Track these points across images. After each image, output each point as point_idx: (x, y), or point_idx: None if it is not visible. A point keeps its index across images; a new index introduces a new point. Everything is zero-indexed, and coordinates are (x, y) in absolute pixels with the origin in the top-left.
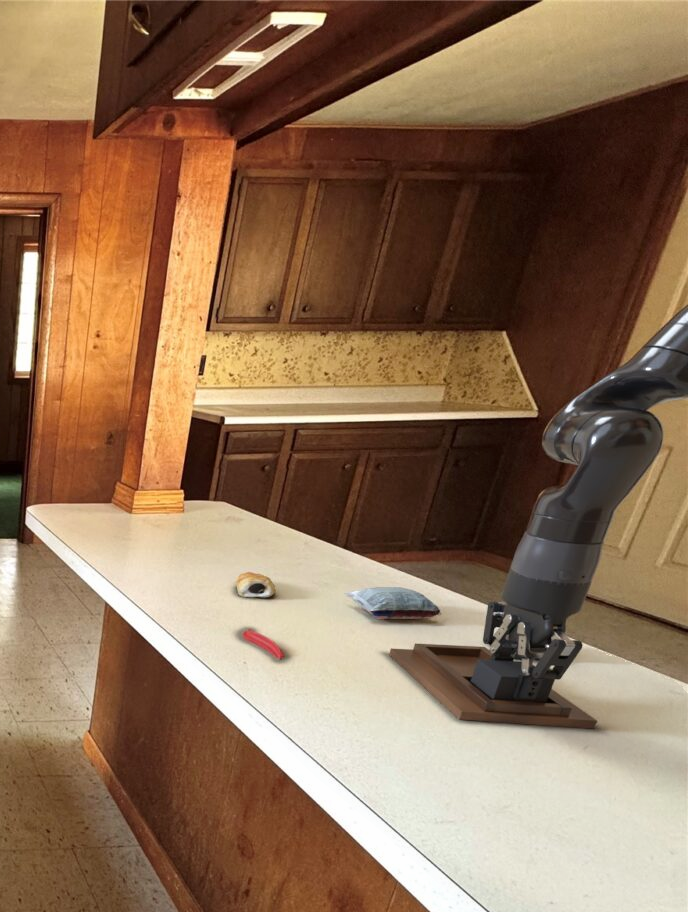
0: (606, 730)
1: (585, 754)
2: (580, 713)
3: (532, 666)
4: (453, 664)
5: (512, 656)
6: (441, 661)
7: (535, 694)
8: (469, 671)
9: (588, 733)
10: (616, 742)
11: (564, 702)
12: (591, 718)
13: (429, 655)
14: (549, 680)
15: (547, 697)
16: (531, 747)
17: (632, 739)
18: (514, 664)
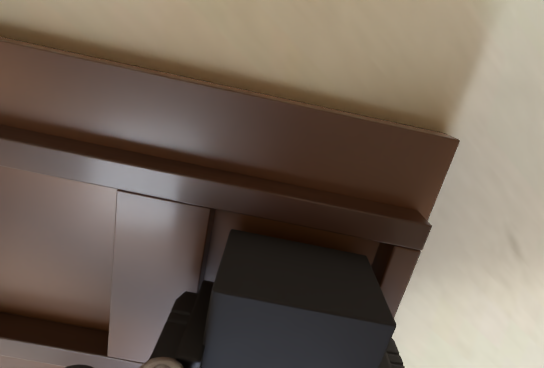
0: (459, 101)
1: (539, 273)
2: (406, 152)
3: (261, 311)
4: (47, 273)
5: (186, 359)
6: (74, 357)
7: (394, 353)
8: (148, 330)
9: (460, 173)
10: (522, 138)
11: (330, 137)
12: (441, 146)
13: (26, 358)
14: (389, 338)
15: (370, 268)
16: (476, 358)
17: (525, 69)
18: (239, 364)
